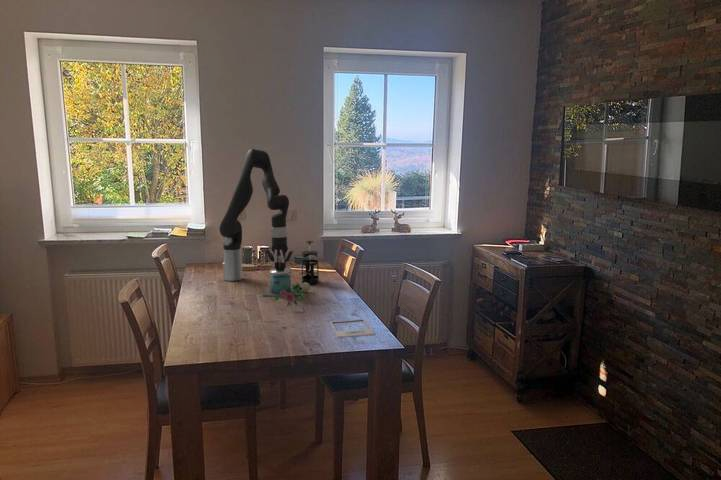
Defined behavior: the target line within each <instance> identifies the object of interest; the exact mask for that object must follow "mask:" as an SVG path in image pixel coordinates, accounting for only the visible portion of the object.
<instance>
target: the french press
mask: <svg viewBox="0 0 721 480" xmlns="http://www.w3.org/2000/svg"><path fill="white" fill-rule="evenodd" d="M305 243H307V244H308V247H309V250H303V251H301V252H300V253H301V255H302V256H301V257H302V258H308V257H310V256H315V257H316V258H317V257H318V254H319V251H316V250H311V243H314V241H313V240H306V241H305ZM304 266H305V270H304V268H303V267H304ZM314 266H316V269H315V267H314ZM319 273H320V272H319V260H317V259H310V258H309V259H305V260H301V284H302V283H305V282H306V283H308V284H309V285H310V286H315V285H318V284H320V281H319V279H320V278H319Z"/></svg>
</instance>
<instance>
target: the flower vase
mask: <svg viewBox="0 0 721 480" xmlns="http://www.w3.org/2000/svg"><path fill="white" fill-rule="evenodd" d="M288 287H289V286H288V285H287V286H285V285H284V284H283V285H282V288H286V289H287V288H288ZM291 289H292V290H293V291H294V293H293V294H290V293H287V292H286V290H285V289H284V290H281V291H280V294H282V296H285V297H284V300H285V301H286V302H287V304H286V307H289V306H291V305H292V303H293V304H294V305H295V306H298V301H299V302H301V300H302V297H303V298H306V297H307V296H306V294H305V293H308V292H309V291H310V290H311V285H309V284H308V283H306V282H305V283H302V282H301V283H299V282H296V283H294V284H293V285H292V286H291ZM304 292H305V293H304ZM286 293H287V294H286ZM280 294H277V296H280ZM295 295H296V296H297V300H298V301H297V300H296V299H295V298H296V297H295ZM298 295H299V296H298ZM279 298H280V297H274V299H273V301H276V302H277V301H279Z"/></svg>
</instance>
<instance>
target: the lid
mask: <svg viewBox="0 0 721 480" xmlns="http://www.w3.org/2000/svg"><path fill="white" fill-rule="evenodd" d="M277 264H278V270H276V269H275V267H273V268H270V269H269V270H268V273H269V274H270V275H284V274H289V275H290V274H291V273H292V271H293V269H292V268H290V267H286V268H285V270H282V261H278V262H277Z"/></svg>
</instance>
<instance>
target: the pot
mask: <svg viewBox="0 0 721 480" xmlns="http://www.w3.org/2000/svg"><path fill="white" fill-rule="evenodd" d="M269 281H270V284H269V285H270V288H269V289H268V290H266V291H265V292H264V293H262V297H269V298H270V297H271V298H276V297H278V298H285V296H282V294H280V291H281V290H284V289H285V290H286V292H287V293H290V294H293V293H294V291H293V290H292V289H291V288H292V286H291V285H292V284H291V282H292V281H291V274H290V273H289V274H284V275H273V274H270V277H269ZM283 284H284V285H285V286H287V285H288V286H289V287H288V288H287V289H286V288H282V285H283ZM287 293H286V294H287ZM277 294H280V296H277ZM293 295H294V294H293Z"/></svg>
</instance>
